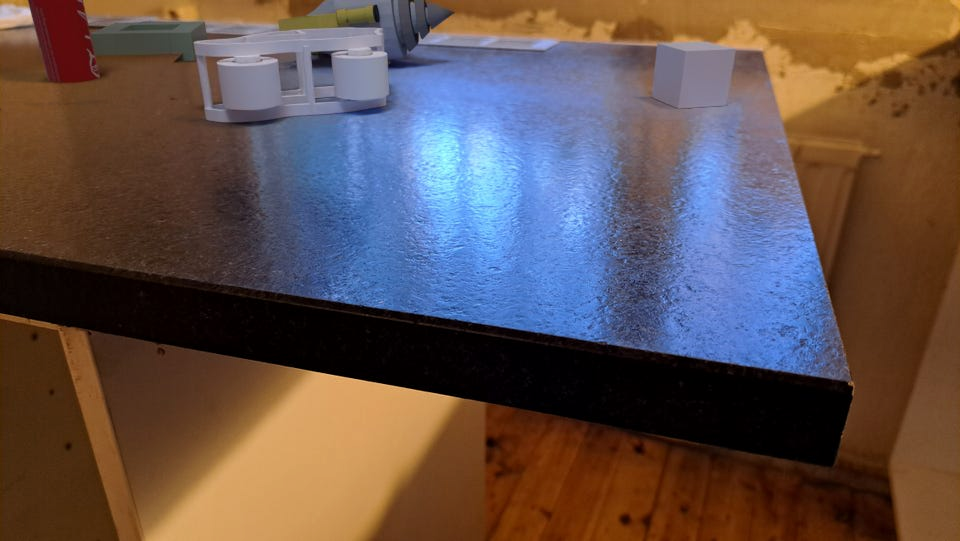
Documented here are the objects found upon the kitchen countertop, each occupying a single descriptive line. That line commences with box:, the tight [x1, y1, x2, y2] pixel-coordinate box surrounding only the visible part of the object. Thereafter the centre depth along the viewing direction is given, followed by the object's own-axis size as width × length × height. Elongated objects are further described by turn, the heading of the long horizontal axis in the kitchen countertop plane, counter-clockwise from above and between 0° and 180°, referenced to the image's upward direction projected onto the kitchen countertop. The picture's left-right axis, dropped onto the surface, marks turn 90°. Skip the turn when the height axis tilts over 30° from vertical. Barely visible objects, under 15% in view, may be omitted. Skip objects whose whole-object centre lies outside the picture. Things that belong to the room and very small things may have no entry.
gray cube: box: [651, 40, 737, 110], centre depth 78 cm, size 6×6×6 cm
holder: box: [90, 20, 209, 63], centre depth 105 cm, size 13×13×4 cm
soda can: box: [27, 0, 101, 84], centre depth 81 cm, size 6×6×12 cm
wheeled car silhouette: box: [193, 28, 390, 123], centre depth 73 cm, size 20×11×7 cm, turn 115°
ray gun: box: [277, 0, 456, 65], centre depth 99 cm, size 11×24×20 cm
